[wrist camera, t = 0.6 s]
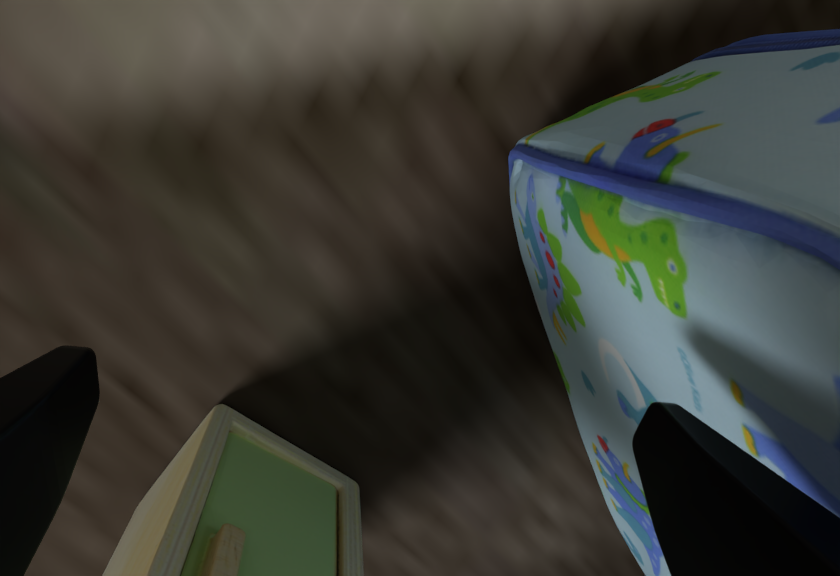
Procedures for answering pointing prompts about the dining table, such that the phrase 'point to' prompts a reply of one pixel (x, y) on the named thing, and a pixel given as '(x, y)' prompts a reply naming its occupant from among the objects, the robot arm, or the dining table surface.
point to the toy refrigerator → (243, 510)
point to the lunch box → (696, 262)
